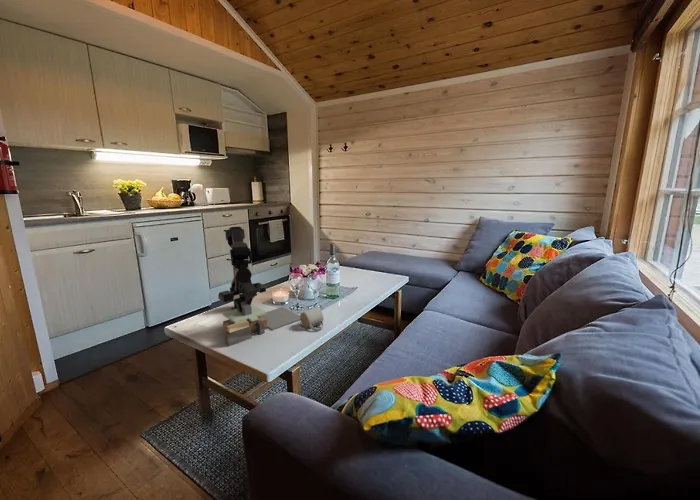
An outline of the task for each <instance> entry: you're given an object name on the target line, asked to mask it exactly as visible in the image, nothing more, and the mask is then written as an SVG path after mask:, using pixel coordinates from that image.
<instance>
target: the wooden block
mask: <svg viewBox="0 0 700 500" xmlns="http://www.w3.org/2000/svg"><path fill="white" fill-rule="evenodd" d="M247 327H249V322H248V321H247V320H245V321H242V322H238V323H235V324H232V325H229V326H227V331H228V332H229V333H232V332H235V331H238V330H241V329H244V328H247Z"/></svg>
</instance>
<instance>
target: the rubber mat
mask: <svg viewBox="0 0 700 500" xmlns="http://www.w3.org/2000/svg"><path fill="white" fill-rule="evenodd" d="M266 312H267V314H264V315H261V317H263V318H264V319H266V320H267V329H269V330H271V331H275V330H278V329H280V328H283V327H285V326H288V325H291V324H294V323H297V322H299V321H300V315H301V314H298V313H296V312H293V311H292V310H290V309H288V308H286V307H284V306H281V307H277V308H275V309H272V310H269V311H266ZM300 322H301V321H300Z"/></svg>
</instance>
